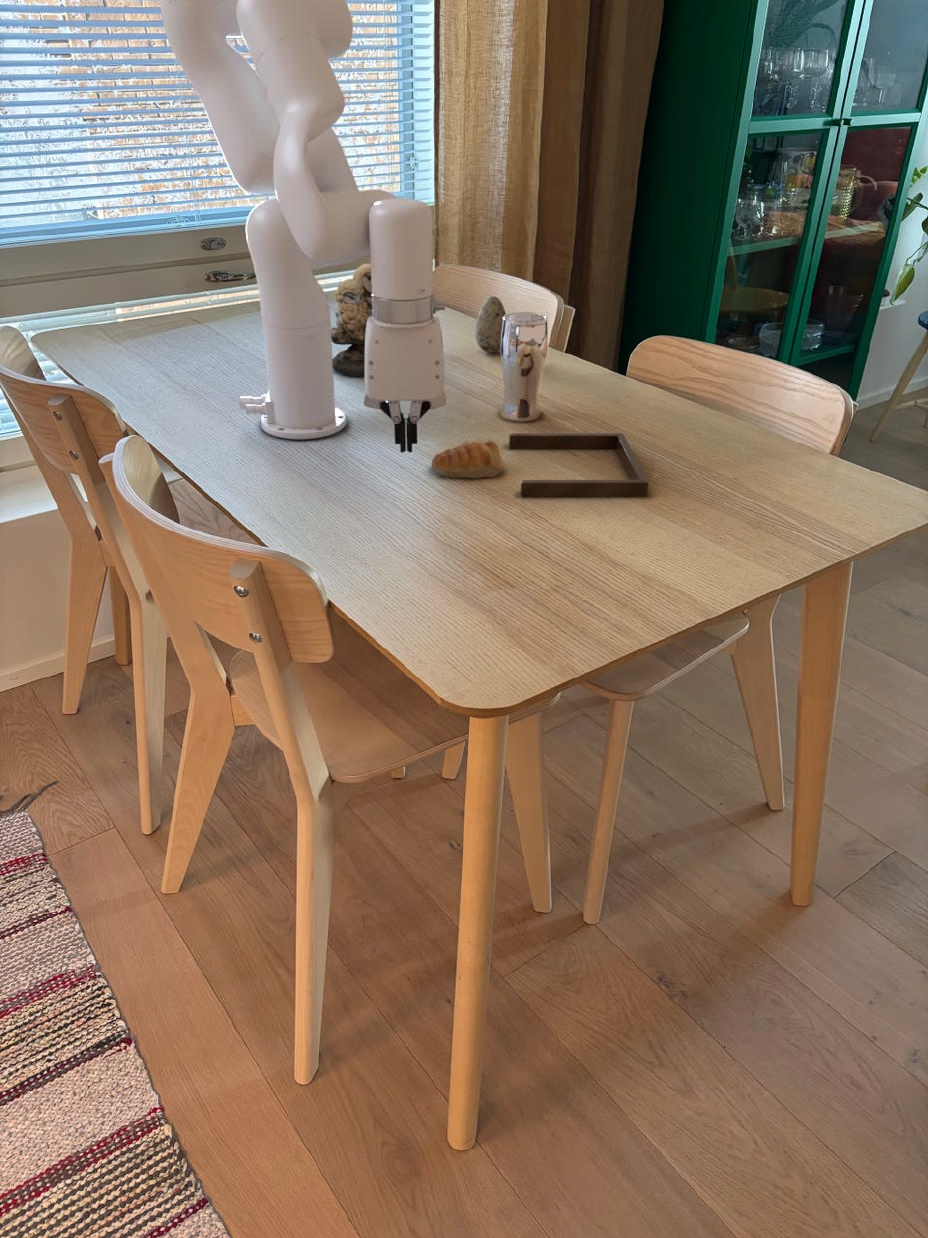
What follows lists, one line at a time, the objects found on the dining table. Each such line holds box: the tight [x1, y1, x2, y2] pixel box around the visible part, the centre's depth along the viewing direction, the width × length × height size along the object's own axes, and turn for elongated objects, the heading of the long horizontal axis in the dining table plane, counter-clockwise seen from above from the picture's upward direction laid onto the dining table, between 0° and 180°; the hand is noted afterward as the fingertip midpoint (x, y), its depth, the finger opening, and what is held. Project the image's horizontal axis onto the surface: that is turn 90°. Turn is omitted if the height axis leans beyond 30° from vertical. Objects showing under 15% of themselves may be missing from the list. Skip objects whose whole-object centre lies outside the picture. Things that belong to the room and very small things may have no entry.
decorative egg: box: [474, 295, 507, 354], centre depth 173 cm, size 6×6×10 cm
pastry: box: [430, 439, 504, 479], centre depth 129 cm, size 9×7×4 cm
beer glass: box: [499, 311, 548, 423], centre depth 144 cm, size 7×7×15 cm
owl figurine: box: [331, 263, 373, 378], centre depth 163 cm, size 18×12×17 cm, turn 126°
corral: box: [508, 432, 649, 498], centre depth 131 cm, size 16×17×2 cm
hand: (406, 448), depth 128 cm, fingers closed
